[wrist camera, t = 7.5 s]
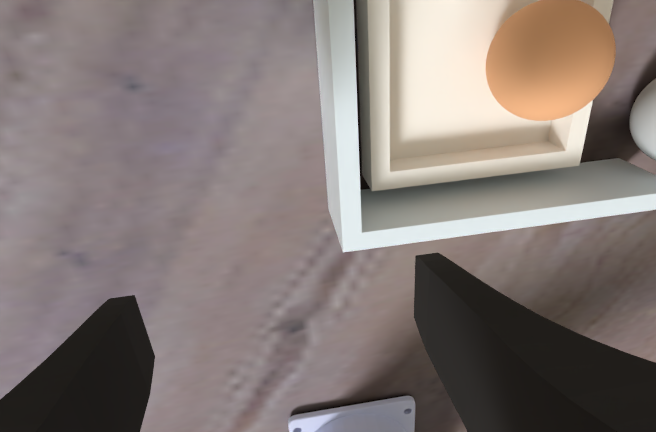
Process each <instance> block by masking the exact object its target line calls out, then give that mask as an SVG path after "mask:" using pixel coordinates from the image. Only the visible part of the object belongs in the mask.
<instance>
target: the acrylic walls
mask: <svg viewBox="0 0 656 432" xmlns="http://www.w3.org/2000/svg"><path fill="white" fill-rule="evenodd" d="M313 6H314V19H315V33H316V46H317V60H318V73H319V87H320V100H321V114H322V127H323V141H324V154H325V168H326V181H327V195H328V208H329V212H330V215H331V218H332V221H333V224H334V227H335V230H336V233H337V236H338V239H339V242H340V245H341V247H342V250H343V252H350V251H357V250H364V249H372V248H379V247H386V246H393V245H401V244H408V243H415V242H423V241H430V240H437V239H445V238H452V237H459V236H467V235H474V234H481V233H488V232H496V231H503V230H510V229H518V228H525V227H532V226H540V225H547V224H554V223H562V222H569V221H576V220H583V219H591V218H598V217H605V216H613V215H620V214H627V213H635V212H642V211H649V210H656V175H654V174H652V173H650V172H648V171H646V170H643V169H641V168H639V167H637V166H635V165H633V164H631V163H629V162H627V161H624V160H622V159H620V158H615V159H607V160H599V161H591V162H583V163H580V165H579V166H573V167H565V168H557V169H548V170H540V171H532V172H524V173H516V174H508V175H500V176H492V177H484V178H476V179H468V180H460V181H452V182H444V183H436V184H428V185H419V186H411V187H403V188H395V189H387V190H379V191H371V189H364V190H360V167H359V139H358V112H357V84H356V56H355V29H354V1H353V0H313Z"/></svg>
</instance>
